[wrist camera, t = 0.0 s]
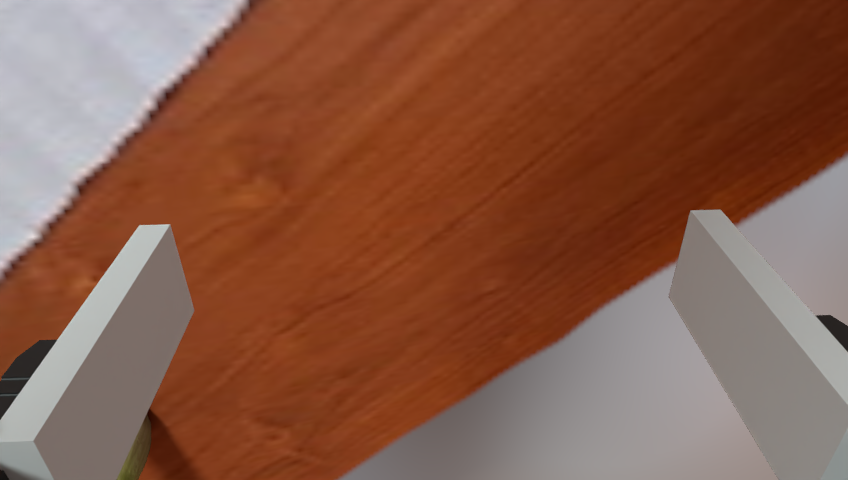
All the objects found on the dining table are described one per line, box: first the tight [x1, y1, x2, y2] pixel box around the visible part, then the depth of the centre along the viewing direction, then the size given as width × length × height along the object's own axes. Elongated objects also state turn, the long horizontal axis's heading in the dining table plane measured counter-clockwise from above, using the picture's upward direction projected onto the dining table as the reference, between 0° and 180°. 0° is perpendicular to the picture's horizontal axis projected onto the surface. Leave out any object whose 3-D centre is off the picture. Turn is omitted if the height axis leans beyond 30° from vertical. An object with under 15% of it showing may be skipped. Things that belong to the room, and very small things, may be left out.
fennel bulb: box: [116, 414, 151, 480], centre depth 53 cm, size 6×5×12 cm
